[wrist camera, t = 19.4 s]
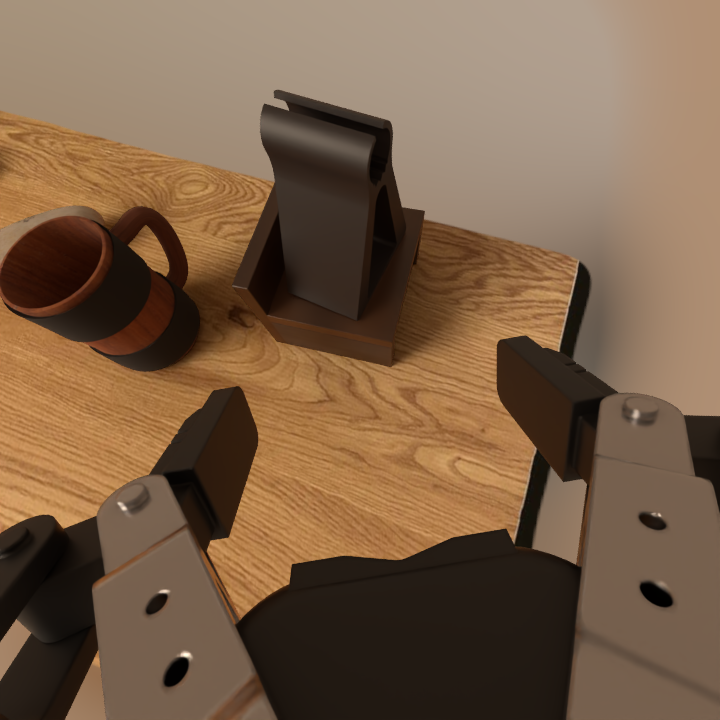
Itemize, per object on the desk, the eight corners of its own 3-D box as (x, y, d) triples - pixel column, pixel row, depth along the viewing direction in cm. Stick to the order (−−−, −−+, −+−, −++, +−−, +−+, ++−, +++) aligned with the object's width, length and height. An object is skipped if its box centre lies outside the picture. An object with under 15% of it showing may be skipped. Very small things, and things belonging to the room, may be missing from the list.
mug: (243, 289, 35) (175, 201, 24) (164, 391, 32) (45, 344, 21) (179, 254, 37) (89, 158, 26) (100, 347, 34) (-40, 283, 23)
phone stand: (341, 207, 29) (312, 39, 18) (406, 231, 28) (419, 65, 17) (288, 294, 27) (217, 162, 16) (357, 323, 26) (333, 203, 15)
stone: (-29, 251, 35) (43, 164, 34) (45, 285, 40) (112, 211, 39) (-42, 280, 32) (38, 185, 30) (41, 314, 37) (114, 233, 35)
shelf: (418, 254, 34) (430, 170, 25) (391, 367, 31) (393, 318, 21) (313, 236, 36) (287, 151, 27) (276, 341, 33) (230, 285, 23)
